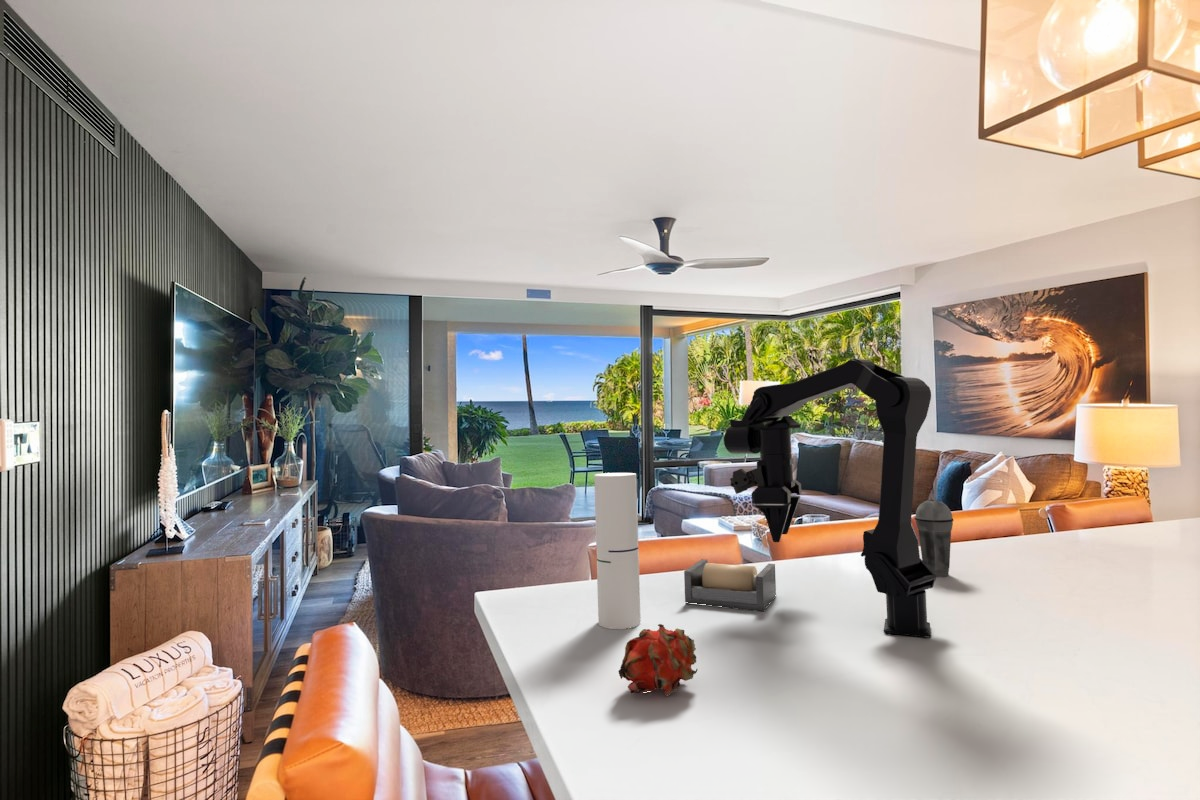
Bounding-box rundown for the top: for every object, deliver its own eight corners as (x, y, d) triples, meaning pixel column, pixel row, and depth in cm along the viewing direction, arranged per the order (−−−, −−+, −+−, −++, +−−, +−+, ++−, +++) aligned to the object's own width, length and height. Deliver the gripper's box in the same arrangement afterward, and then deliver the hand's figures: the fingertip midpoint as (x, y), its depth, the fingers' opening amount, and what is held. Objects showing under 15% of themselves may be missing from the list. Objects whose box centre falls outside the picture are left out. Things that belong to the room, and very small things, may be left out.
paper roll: (760, 589, 125) (758, 561, 124) (754, 603, 120) (751, 574, 119) (710, 585, 129) (707, 558, 128) (701, 598, 124) (699, 570, 123)
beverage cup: (909, 573, 140) (905, 478, 141) (933, 569, 144) (929, 476, 144) (939, 580, 134) (935, 481, 135) (964, 575, 137) (959, 478, 138)
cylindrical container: (637, 629, 108) (632, 475, 109) (594, 628, 109) (590, 476, 110) (643, 617, 115) (639, 472, 116) (603, 615, 116) (598, 472, 117)
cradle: (776, 595, 126) (774, 564, 126) (764, 611, 116) (762, 576, 116) (702, 589, 132) (701, 559, 132) (685, 603, 122) (684, 571, 122)
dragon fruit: (703, 691, 87) (629, 730, 80) (665, 640, 92) (593, 673, 86) (722, 651, 82) (645, 689, 76) (681, 600, 88) (606, 631, 81)
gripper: (743, 452, 136) (747, 529, 135) (721, 457, 119) (725, 545, 118) (799, 451, 131) (804, 530, 130) (784, 455, 114) (790, 547, 113)
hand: (780, 538), depth 123 cm, fingers open, 9 cm apart
